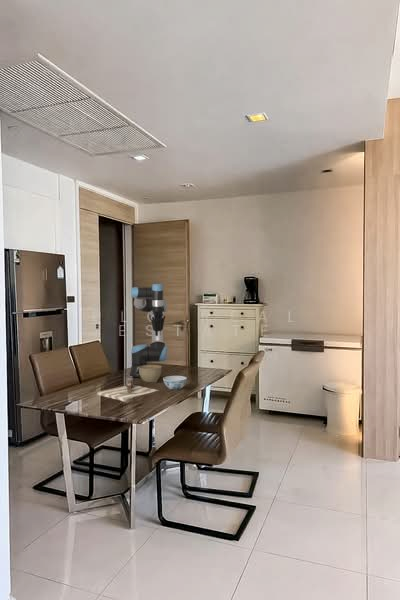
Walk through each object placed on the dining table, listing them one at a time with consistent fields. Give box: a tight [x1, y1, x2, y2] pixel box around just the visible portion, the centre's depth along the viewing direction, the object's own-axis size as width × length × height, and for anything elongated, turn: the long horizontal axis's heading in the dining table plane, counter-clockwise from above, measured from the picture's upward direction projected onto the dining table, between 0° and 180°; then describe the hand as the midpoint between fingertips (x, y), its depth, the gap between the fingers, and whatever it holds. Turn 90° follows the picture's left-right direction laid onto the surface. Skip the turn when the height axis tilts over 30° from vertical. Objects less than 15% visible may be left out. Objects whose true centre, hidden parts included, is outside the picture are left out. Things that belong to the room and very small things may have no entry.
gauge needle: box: [125, 376, 135, 392], centre depth 258 cm, size 19×5×6 cm, turn 9°
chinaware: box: [162, 375, 188, 390], centre depth 262 cm, size 15×15×8 cm
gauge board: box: [96, 384, 160, 402], centre depth 254 cm, size 27×27×2 cm
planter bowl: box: [138, 364, 163, 383], centre depth 287 cm, size 16×16×11 cm
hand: (158, 340), depth 284 cm, fingers closed
